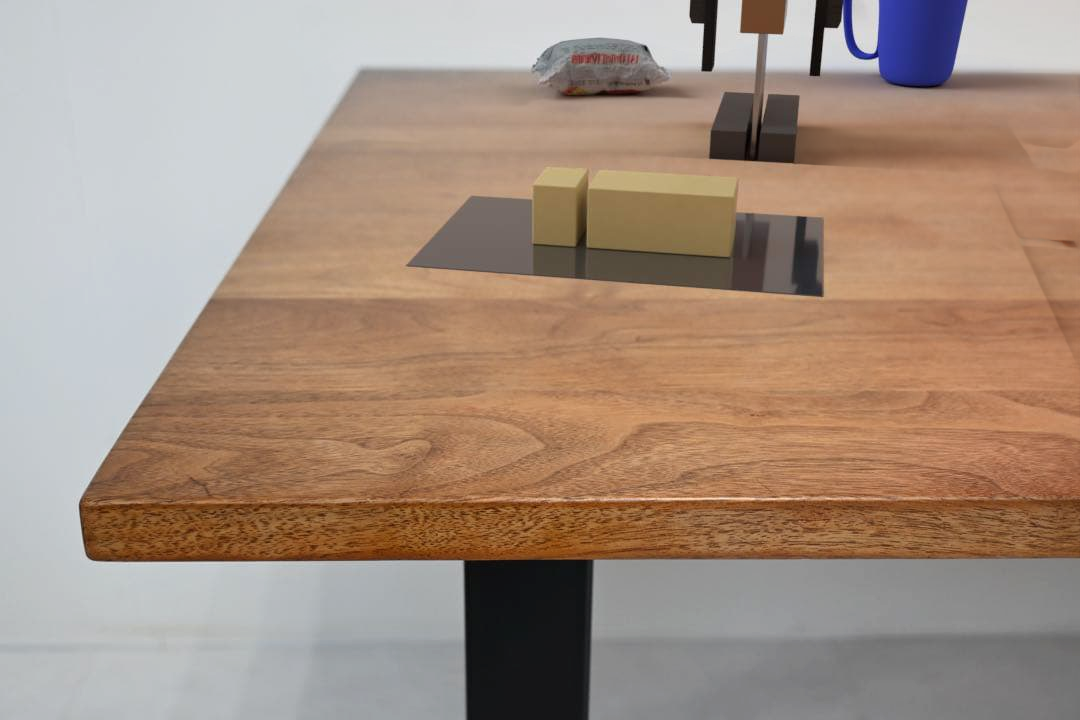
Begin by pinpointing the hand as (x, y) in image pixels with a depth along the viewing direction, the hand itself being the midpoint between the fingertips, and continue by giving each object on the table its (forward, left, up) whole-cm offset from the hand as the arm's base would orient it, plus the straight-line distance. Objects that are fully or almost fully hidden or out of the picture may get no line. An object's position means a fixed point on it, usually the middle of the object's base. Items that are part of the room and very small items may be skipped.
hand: (760, 70), depth 94 cm
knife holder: (0, 0, -6) cm, 6 cm away
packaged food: (+15, -18, -6) cm, 24 cm away
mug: (-12, -32, -6) cm, 35 cm away
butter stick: (+4, +28, -5) cm, 29 cm away
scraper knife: (0, 0, -6) cm, 6 cm away
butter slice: (+10, +28, -5) cm, 30 cm away
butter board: (+6, +28, -6) cm, 29 cm away
